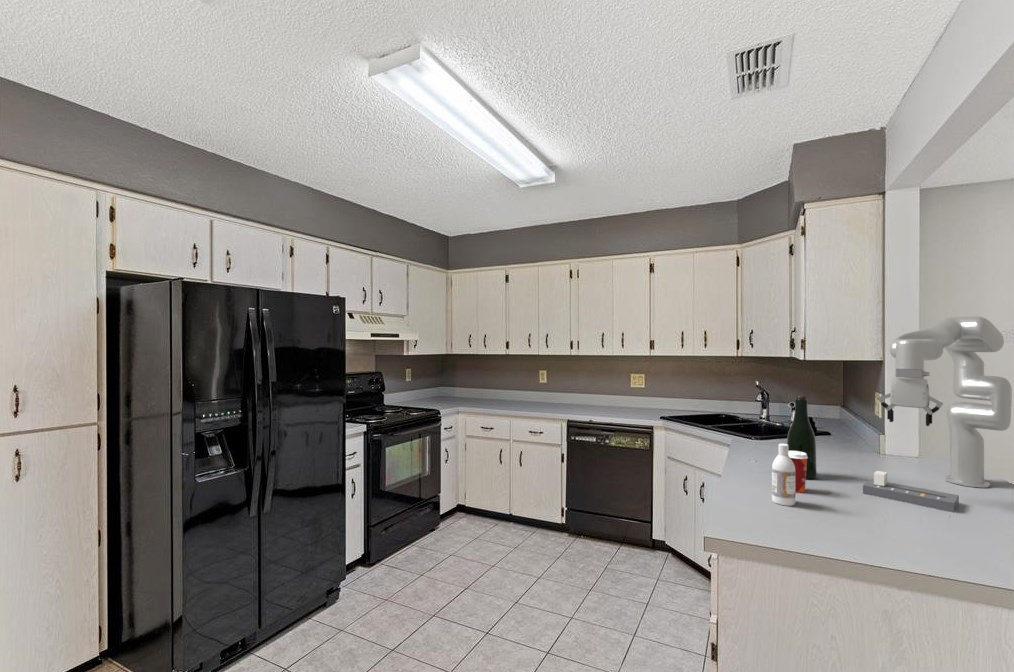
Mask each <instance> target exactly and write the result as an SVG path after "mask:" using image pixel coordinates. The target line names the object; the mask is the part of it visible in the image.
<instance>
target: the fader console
mask: <svg viewBox="0 0 1014 672" xmlns="http://www.w3.org/2000/svg"><path fill="white" fill-rule="evenodd" d="M862 494H864V495H867V496H873V497H877V496H878V498H882V497H883V498H882V499H887V498H888V500H892V499H893V500H892V501H897V502H901V501H902V503H906V502H907V504H910V505H911V504H913V505H917V506H921V505H922V506H921V507H925V506H926V508H931V509H936V510H941V511H945V512H949V513H950V512H951V513H955V512H956V509H957V508H958V506H959V504H960V501H959V500H960V499H959V498H960V497H959V494H954V493H949V492H944V491H938V490H933V489H926V488H922V487H918V486H917V487H916V486H911V485H906V484H900V483H895V482H889V481H887V484H886V485H885V486H881V485H876V484H874V478H870V479H869V480H868V481H866V482H865V483H864V484H862Z"/></svg>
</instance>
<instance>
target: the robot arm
mask: <svg viewBox="0 0 1014 672" xmlns="http://www.w3.org/2000/svg"><path fill="white" fill-rule="evenodd" d="M1004 343H1005V339H1004V336H1003V334H1002V332H1001V331H1000V330H999V329H998V328H997V327H996V326H995V325H994V323H993V322H991V321H990V320H989V319H987V318H986V317H983V316H953V317H952V316H951V317H947V318H946V317H945V318H943V319H942V320H940V321H938V322H936V323H935V324H934V325H932V326H931V327H927V328H923V329H920V330H915V331H911V332H906V333H903V334H901V335H899V336H897V337H896V338H894V339H893V341H892V342H891V343H890V345H889V352H890V355H891V356H892V358H894V359H895V371H894V372H895V375H894V376H895V377H892V381H891V386H890V393H887V394H884V395H880V396H878V397H877V400H878V401H879V403H880V406H882V407H883V408H884V409H885V410H886V413H887V420H889V423H893V422H894V421H895V420H894V418H895V417H894V412H895V411H894V410H893V409H894V408H895V407H904V408H915V409H923V410H924V411H925V412H926V414H925V426H926V427H930V425H932V424H933V415H934V414H935V413H936V412H938V411H939V410H940V409H941V408H942V406H943V405H944V401H942V400H939V399H937V398H935V397H933V396H930V387H929V383H928V379H926V378H925V377H930V375H931V374H930V372H929V371H926V370H925V361H935V360H938V359H940V358H941V357H942V355H943V353H944V350H946V351H947V353H948V354H949V356H950V357H951V359H952V362H953V378H952V379H953V381H952V390H953V394H954V395H955V396H956V397H958V398H961V399H967V400H976V401H987V402H991V404H989V403H979V402H977V403H976V402H967V401H955V402H952V403H950V404H948V406H947V407H946V417H947V422H948V428H949V475H945V476H944V480H945V481H946V482H949V483H952V484H955V485H960V486H963V487H964V486H965V487H969V488H970V487H972V488H985V489H986V488H989V487H991V484H990V482H989V481H987V480H985V440H984V437H983V436H982V434H981V433H980V432H979V431H978V430H977V429H982V430H990V431H998V432H1000V431H1002V432H1003V431H1006V430H1008V429H1009V428H1010V426H1011V422H1012V402H1013V401H1012V398H1013V397H1012V396H1013V390H1012V385H1011V382H1010V381H1009V380H1008V379H1007V378H1005V377H1003V376H997V375H995V376H994V375H985V362H984V361H983V359H982V358H981V357H980V356H979V354H977V353H996V352H999V351H1001V350H1002V349H1003V347H1004ZM888 398H889V401H890V402H889V403H890V404H888V403H886V401H885V399H888ZM930 402H933V403H934V404H936V405H935V406H934V407H933V408H930V404H931V403H930Z"/></svg>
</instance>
